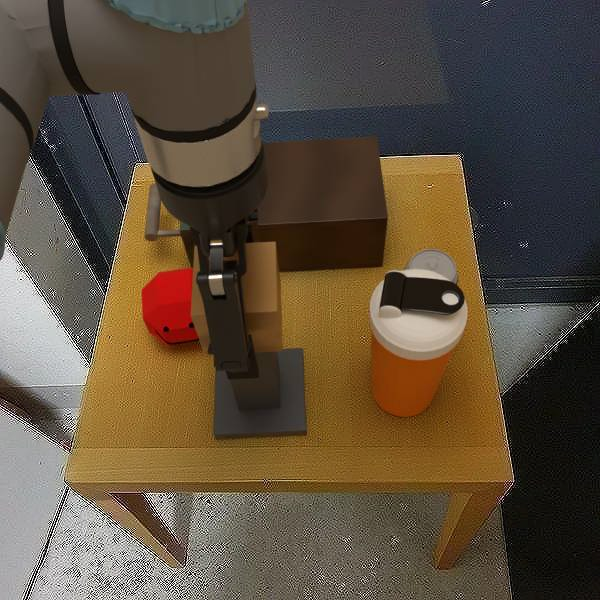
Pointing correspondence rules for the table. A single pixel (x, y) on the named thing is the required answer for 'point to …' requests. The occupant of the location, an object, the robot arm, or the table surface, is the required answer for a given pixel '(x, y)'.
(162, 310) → the red faceted polyhedron
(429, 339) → the shaker bottle
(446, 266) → the beverage can
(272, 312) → the oak block
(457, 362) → the table surface
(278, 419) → the stand
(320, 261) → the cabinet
